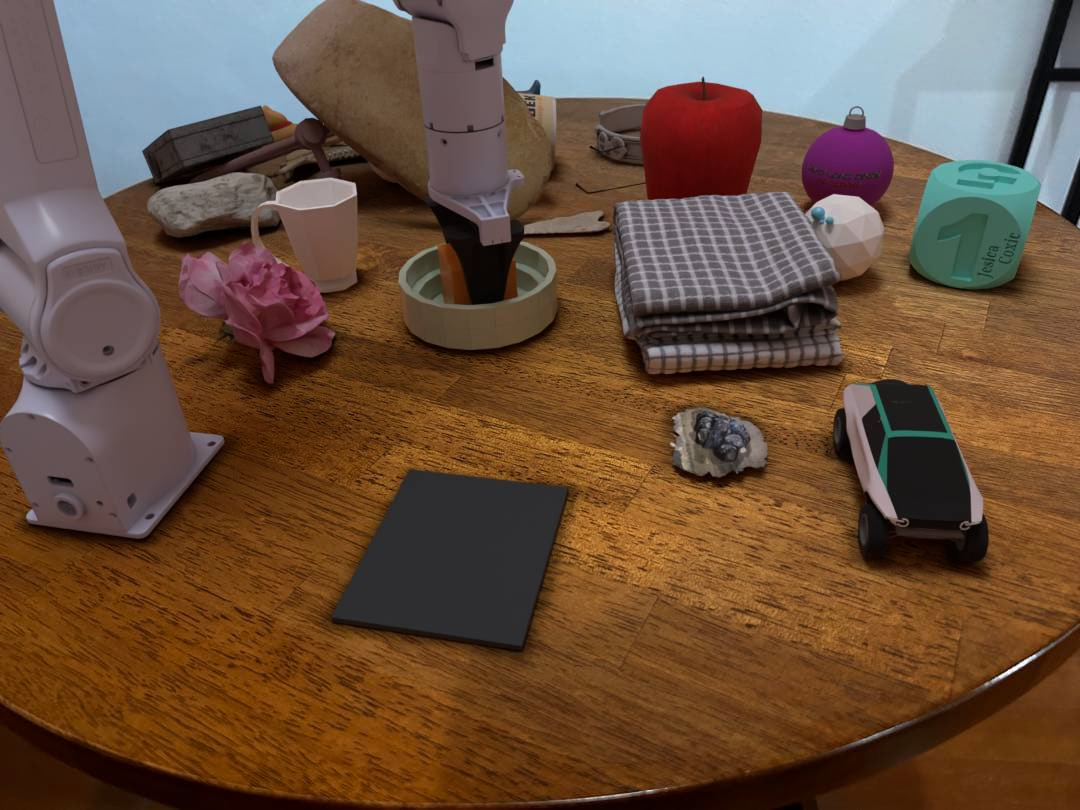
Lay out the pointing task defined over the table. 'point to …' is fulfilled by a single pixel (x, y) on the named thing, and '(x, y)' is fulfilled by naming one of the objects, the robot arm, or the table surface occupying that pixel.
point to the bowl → (481, 321)
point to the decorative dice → (973, 223)
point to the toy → (286, 128)
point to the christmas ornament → (848, 162)
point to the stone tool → (569, 224)
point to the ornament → (848, 232)
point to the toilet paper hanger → (283, 152)
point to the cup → (319, 229)
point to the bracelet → (608, 139)
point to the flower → (257, 303)
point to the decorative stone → (214, 204)
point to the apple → (699, 140)
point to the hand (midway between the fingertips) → (479, 293)
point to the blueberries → (716, 443)
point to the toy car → (909, 469)
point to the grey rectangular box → (207, 143)
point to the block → (455, 279)
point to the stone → (390, 96)
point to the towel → (725, 283)
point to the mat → (457, 560)
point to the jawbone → (309, 158)
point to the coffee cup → (544, 116)
